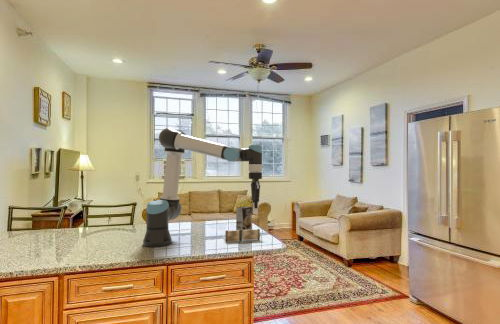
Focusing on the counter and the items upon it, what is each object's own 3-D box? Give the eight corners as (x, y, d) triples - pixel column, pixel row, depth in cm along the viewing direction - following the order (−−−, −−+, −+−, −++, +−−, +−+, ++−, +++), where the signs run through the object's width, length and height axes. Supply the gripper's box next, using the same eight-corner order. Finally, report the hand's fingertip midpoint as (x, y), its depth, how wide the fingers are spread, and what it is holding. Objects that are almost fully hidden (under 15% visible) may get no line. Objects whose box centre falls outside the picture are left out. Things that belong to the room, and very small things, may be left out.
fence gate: (242, 240, 181) (242, 230, 181) (242, 239, 182) (242, 229, 182) (259, 239, 183) (260, 229, 183) (259, 238, 184) (259, 228, 184)
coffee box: (243, 233, 200) (243, 208, 201) (235, 232, 204) (235, 207, 204) (252, 231, 208) (252, 206, 208) (244, 230, 212) (244, 205, 212)
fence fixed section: (225, 241, 178) (225, 230, 178) (225, 241, 180) (225, 230, 180) (242, 240, 180) (242, 229, 181) (241, 240, 182) (241, 229, 182)
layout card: (225, 243, 176) (225, 242, 176) (221, 236, 192) (221, 235, 192) (260, 241, 180) (260, 240, 180) (253, 235, 196) (253, 234, 196)
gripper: (264, 172, 173) (264, 215, 173) (258, 171, 186) (258, 211, 186) (251, 172, 171) (251, 215, 171) (246, 171, 184) (246, 212, 184)
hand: (255, 213), depth 178 cm, fingers closed
